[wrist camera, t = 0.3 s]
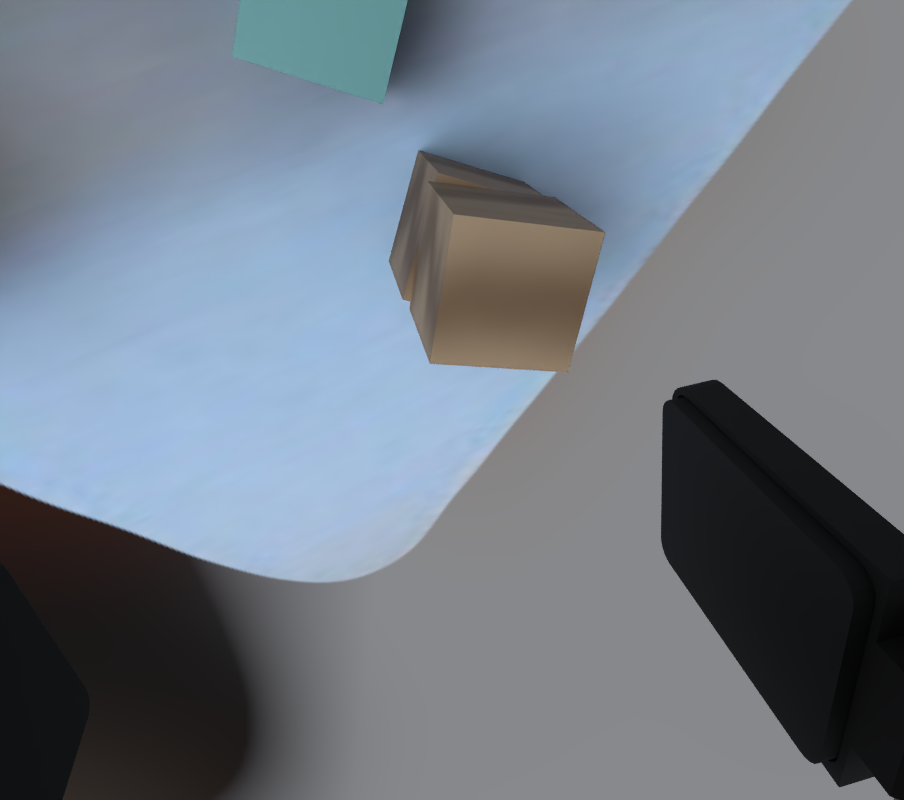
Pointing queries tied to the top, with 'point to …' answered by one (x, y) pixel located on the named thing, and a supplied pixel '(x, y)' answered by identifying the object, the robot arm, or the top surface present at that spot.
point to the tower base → (412, 212)
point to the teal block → (323, 41)
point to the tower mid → (501, 278)
